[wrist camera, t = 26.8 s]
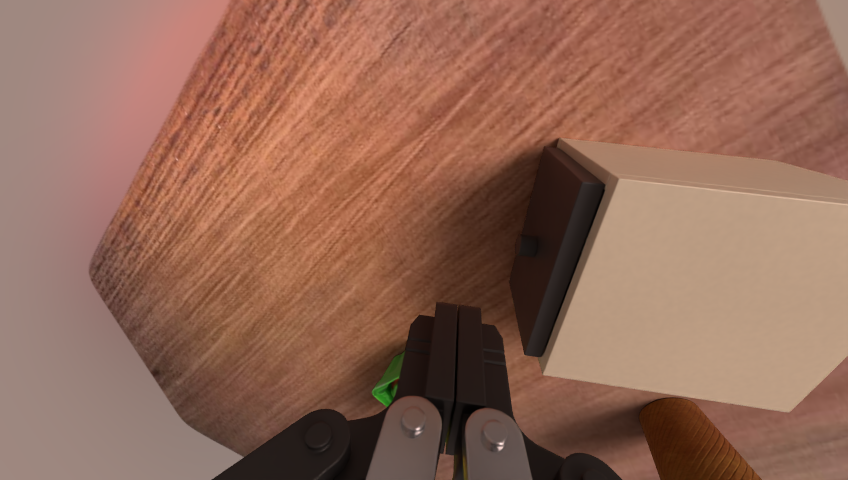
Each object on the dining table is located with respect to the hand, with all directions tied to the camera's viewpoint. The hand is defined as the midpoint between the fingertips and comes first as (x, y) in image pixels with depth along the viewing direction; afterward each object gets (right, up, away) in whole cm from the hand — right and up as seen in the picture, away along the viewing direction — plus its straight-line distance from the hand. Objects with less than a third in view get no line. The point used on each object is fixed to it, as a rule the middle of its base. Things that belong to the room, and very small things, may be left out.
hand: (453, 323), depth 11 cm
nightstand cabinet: (+17, +4, +16) cm, 23 cm away
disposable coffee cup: (+28, -18, +26) cm, 42 cm away
